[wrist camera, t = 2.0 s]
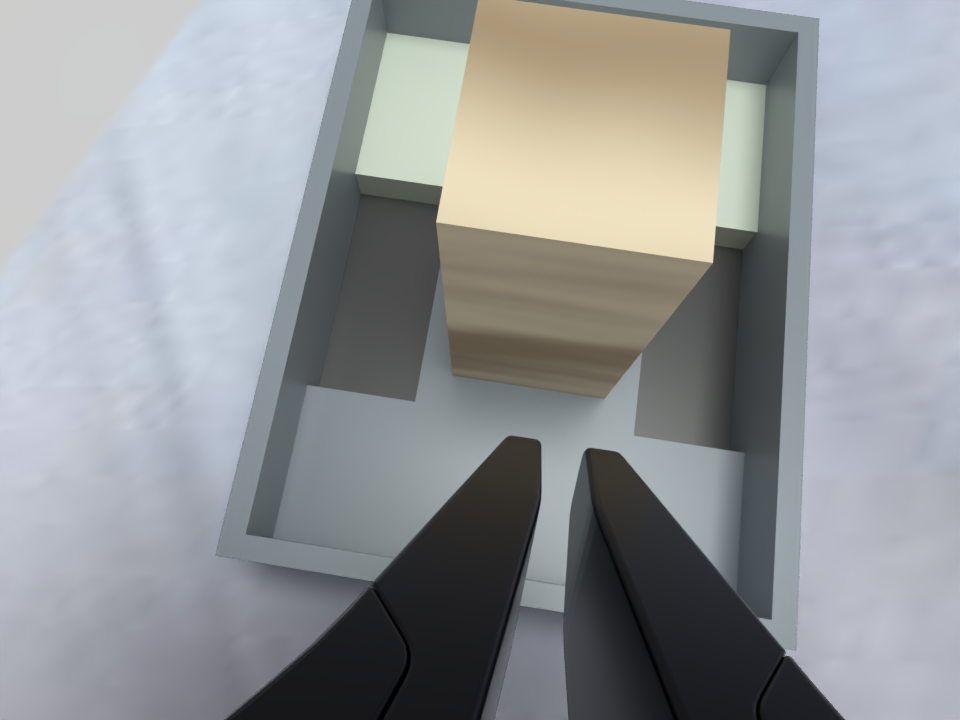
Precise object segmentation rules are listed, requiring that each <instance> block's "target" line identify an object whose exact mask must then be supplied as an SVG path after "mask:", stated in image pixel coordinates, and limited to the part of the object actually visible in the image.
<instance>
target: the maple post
mask: <svg viewBox="0 0 960 720" xmlns="http://www.w3.org/2000/svg"><path fill="white" fill-rule="evenodd" d="M729 43H730V30H728V29H721V28H714V27H706V26H699V25H692V24H684V23H677V22H670V21H662V20H655V19H648V18H640V17H633V16H626V15H618V14H611V13H604V12H596V11H589V10H582V9H574V8H567V7H560V6H552V5H545V4H538V3H530V2H523V1H516V0H478V3H477V9H476V14H475V19H474V24H473V30H472V35H471V40H470V46H469V51H468V56H467V61H466V67H465V72H464V77H463V83H462V88H461V93H460V98H459V104H458V109H457V114H456V120H455V125H454V130H453V135H452V141H451V146H450V151H449V157H448V162H447V167H446V172H445V178H444V183H443V188H442V194H441V199H440V204H439V209H438V215H437V220H436V226H437V236H438V245H439V254H440V263H441V273H442V282H443V291H444V300H445V309H446V319H447V328H448V337H449V346H450V356H451V365H452V374H453V376H459V377H466V378H472V379H479V380H485V381H492V382H498V383H505V384H511V385H518V386H524V387H531V388H537V389H544V390H550V391H557V392H563V393H570V394H576V395H583V396H589V397H596V398H602V399H605V398H606V397H607V395H608V394H609V393H610V391H611V390H612V389H613V388H614V386H615V385H616V384H617V383H618V381H619V380H620V379H621V378H622V376H623V375H624V374H625V373H626V371H627V370H628V369H629V368H630V366H631V365H632V364H633V363H634V361H635V360H636V359H637V358H638V356H639V355H640V354H641V353H642V351H643V350H644V349H645V348H646V346H647V345H648V344H649V343H650V341H651V340H652V339H653V338H654V336H655V335H656V334H657V333H658V331H659V330H660V329H661V328H662V326H663V325H664V324H665V322H666V321H667V320H668V319H669V317H670V316H671V315H672V314H673V312H674V311H675V310H676V309H677V307H678V306H679V305H680V304H681V302H682V301H683V300H684V299H685V297H686V296H687V295H688V294H689V292H690V291H691V290H692V289H693V287H694V286H695V285H696V284H697V282H698V281H699V280H700V279H701V277H702V276H703V275H704V274H705V272H706V271H707V270H708V269H709V267H710V266H711V265H712V264H713V255H714V242H715V229H716V216H717V203H718V189H719V176H720V163H721V149H722V136H723V123H724V110H725V96H726V83H727V70H728V57H729Z"/></svg>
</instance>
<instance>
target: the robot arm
mask: <svg viewBox="0 0 960 720" xmlns="http://www.w3.org/2000/svg"><path fill="white" fill-rule="evenodd" d="M541 496H542V447H541V443H540V441H539V440H537V439H532V438H526V437H519V436H513V435H510V436H507V437H506V438H505V439H504V440H503V441H502V442H501V443H500V444H499V445H498V446H497V448H496V449H495V450H494V451H493V452H492V453H491V454H490V455H489V456H488V457H487V458H486V459H485V461H484V462H483V463H482V464H481V465H480V466H479V467H478V468H477V469H476V470H475V471H474V472H473V474H472V475H471V476H470V477H469V478H468V479H467V480H466V481H465V482H464V483H463V484H462V485H461V487H460V488H459V489H458V490H457V491H456V492H455V493H454V494H453V495H452V496H451V497H450V498H449V500H448V501H447V502H446V503H445V504H444V505H443V506H442V507H441V508H440V509H439V510H438V511H437V513H436V514H435V515H434V516H433V517H432V518H431V519H430V520H429V521H428V522H427V523H426V524H425V526H424V527H423V528H422V529H421V530H420V531H419V532H418V533H417V534H416V535H415V536H414V537H413V539H412V540H411V541H410V542H409V543H408V544H407V545H406V546H405V547H404V548H403V549H402V551H401V552H400V553H399V554H398V555H397V556H396V557H395V558H394V559H393V560H392V561H391V562H390V564H389V565H388V566H387V567H386V568H385V569H384V570H383V571H382V572H381V573H380V574H379V575H378V577H377V578H376V579H375V580H374V581H373V582H372V583H371V585H370V588H366V589H365V590H364V591H363V592H362V593H361V594H360V596H359V597H358V598H357V599H356V600H355V601H354V602H353V603H352V604H351V605H350V606H349V608H348V609H347V610H346V611H345V612H344V613H343V614H342V615H341V616H340V617H339V618H338V619H337V620H336V621H335V622H334V623H333V624H332V625H331V626H330V627H329V628H328V629H327V630H326V631H325V632H324V633H323V634H322V635H321V636H320V637H319V638H318V639H317V640H316V641H315V642H314V643H313V644H312V645H311V646H310V647H308V648H307V649H306V650H305V651H304V652H303V653H302V654H300V655H299V656H298V657H297V658H296V659H295V660H294V661H292V662H291V663H290V664H289V665H288V666H287V667H286V668H285V669H283V670H282V671H281V672H280V673H279V674H278V675H277V676H275V677H274V678H273V679H272V680H271V681H270V682H268V683H267V684H266V685H265V686H264V687H262V688H261V689H260V690H259V691H258V692H256V693H255V694H254V695H253V696H252V697H250V698H249V699H248V700H247V701H246V702H244V703H243V704H242V705H241V706H240V707H238V708H237V709H236V710H235V711H234V712H232V713H231V714H230V715H229V716H228V717H226V718H225V719H224V720H494V718H495V714H496V710H497V706H498V701H499V697H500V693H501V689H502V685H503V680H504V676H505V672H506V668H507V664H508V659H509V655H510V651H511V647H512V643H513V638H514V633H515V628H516V623H517V618H518V613H519V608H520V604H521V599H522V594H523V589H524V584H525V579H526V574H527V569H528V564H529V559H530V554H531V549H532V544H533V539H534V534H535V529H536V525H537V520H538V515H539V510H540V505H541ZM563 638H564V659H565V674H566V689H567V704H568V719H569V720H845V719H844V718H843V717H842V716H841V715H840V713H839V712H838V711H837V710H836V709H835V708H834V707H833V705H832V704H831V703H830V702H829V701H828V700H827V699H826V697H825V696H824V695H823V694H822V693H821V692H820V691H819V690H818V688H817V687H816V686H815V685H814V684H813V683H812V681H811V680H810V679H809V678H808V677H807V675H806V674H805V673H804V672H803V671H802V669H801V668H800V667H799V666H798V665H797V663H796V662H795V661H794V660H793V659H792V658H791V657H790V656H785V654H786V652H785V650H784V648H783V647H782V646H781V645H780V644H779V642H778V641H777V640H776V639H775V638H774V636H773V635H772V634H771V633H770V632H769V630H768V629H767V628H766V627H765V626H764V624H763V623H762V622H761V621H760V620H759V618H758V617H757V616H756V615H755V614H754V612H753V611H752V610H751V609H750V608H749V606H748V605H747V604H746V603H745V602H744V601H743V599H742V598H741V597H740V596H739V595H738V593H737V592H736V591H735V590H734V589H733V587H732V586H731V585H730V584H729V583H728V581H727V580H726V579H725V578H724V577H723V575H722V574H721V573H720V572H719V571H718V569H717V568H716V567H715V566H714V565H713V563H712V562H711V561H710V560H709V559H708V558H707V556H706V555H705V554H704V553H703V552H702V550H701V549H700V548H699V547H698V546H697V544H696V543H695V542H694V541H693V540H692V538H691V537H690V536H689V535H688V534H687V532H686V531H685V530H684V529H683V528H682V526H681V525H680V524H679V523H678V522H677V520H676V519H675V518H674V517H673V516H672V514H671V513H670V512H669V511H668V510H667V509H666V507H665V506H664V505H663V504H662V503H661V501H660V500H659V499H658V498H657V497H656V495H655V494H654V493H653V492H652V491H651V489H650V488H649V487H648V486H647V485H646V483H645V482H644V481H643V480H642V479H641V477H640V476H639V475H638V474H637V473H636V471H635V470H634V469H633V468H632V467H631V465H630V464H629V463H628V462H627V461H626V460H625V458H624V457H623V456H622V455H621V454H620V453H618V452H616V451H610V450H603V449H596V448H587V449H586V450H585V451H584V453H583V456H582V459H581V464H580V468H579V472H578V477H577V481H576V485H575V490H574V494H573V499H572V503H571V509H570V518H569V534H568V550H567V567H566V583H565V600H564V622H563Z"/></svg>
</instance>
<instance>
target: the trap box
mask: <svg viewBox="0 0 960 720" xmlns="http://www.w3.org/2000/svg"><path fill="white" fill-rule="evenodd" d="M516 1H523V2H530V3H538V4H545V5H552V6H560V7H567V8H574V9H582V10H589V11H596V12H604V13H611V14H618V15H626V16H633V17H640V18H648V19H655V20H662V21H670V22H677V23H684V24H692V25H699V26H706V27H714V28H721V29H728V30H730V43H729V57H728V70H727V83H726V96H725V110H724V123H723V136H722V149H721V163H720V176H719V189H718V203H717V216H716V229H715V242H714V255H713V264H712V265H711V266H710V267H709V269H708V270H707V271H706V272H705V274H704V275H703V276H702V277H701V279H700V280H699V281H698V282H697V284H696V285H695V286H694V287H693V289H692V290H691V291H690V292H689V294H688V295H687V296H686V297H685V299H684V300H683V301H682V302H681V304H680V305H679V306H678V307H677V309H676V310H675V311H674V312H673V314H672V315H671V316H670V317H669V319H668V320H667V321H666V322H665V324H664V325H663V326H662V328H661V329H660V330H659V331H658V333H657V334H656V335H655V336H654V338H653V339H652V340H651V341H650V343H649V344H648V345H647V346H646V348H645V349H644V350H643V351H642V353H641V354H640V355H639V356H638V358H637V359H636V360H635V361H634V363H633V364H632V365H631V366H630V368H629V369H628V370H627V371H626V373H625V374H624V375H623V376H622V378H621V379H620V380H619V381H618V383H617V384H616V385H615V386H614V388H613V389H612V390H611V391H610V393H609V394H608V395H607V397H606V398H605V399H602V398H596V397H589V396H583V395H576V394H570V393H563V392H557V391H550V390H544V389H537V388H531V387H524V386H518V385H511V384H505V383H498V382H492V381H485V380H479V379H472V378H466V377H459V376H453V374H452V365H451V356H450V346H449V337H448V328H447V319H446V309H445V300H444V291H443V282H442V273H441V263H440V254H439V245H438V236H437V226H436V220H437V215H438V209H439V204H440V199H441V194H442V188H443V183H444V178H445V172H446V167H447V162H448V157H449V151H450V146H451V141H452V135H453V130H454V125H455V120H456V114H457V109H458V104H459V98H460V93H461V88H462V83H463V77H464V72H465V67H466V61H467V56H468V51H469V46H470V40H471V35H472V30H473V24H474V19H475V14H476V9H477V3H478V0H352V1H351V5H350V9H349V13H348V17H347V22H346V26H345V30H344V34H343V38H342V42H341V46H340V50H339V54H338V58H337V62H336V66H335V70H334V74H333V79H332V83H331V87H330V91H329V95H328V99H327V103H326V107H325V111H324V115H323V119H322V123H321V127H320V131H319V136H318V140H317V144H316V148H315V152H314V156H313V160H312V164H311V168H310V172H309V176H308V180H307V184H306V188H305V193H304V197H303V201H302V205H301V209H300V213H299V217H298V221H297V225H296V229H295V233H294V237H293V241H292V245H291V250H290V254H289V258H288V262H287V266H286V270H285V274H284V278H283V282H282V286H281V290H280V294H279V298H278V302H277V307H276V311H275V315H274V319H273V323H272V327H271V331H270V335H269V339H268V343H267V347H266V351H265V355H264V359H263V364H262V368H261V372H260V376H259V380H258V384H257V388H256V392H255V396H254V400H253V404H252V408H251V412H250V417H249V421H248V425H247V429H246V433H245V437H244V441H243V445H242V449H241V453H240V457H239V461H238V465H237V469H236V474H235V478H234V482H233V486H232V490H231V494H230V498H229V502H228V506H227V510H226V514H225V518H224V522H223V526H222V531H221V535H220V539H219V543H218V547H217V551H216V555H215V556H221V557H227V558H233V559H239V560H245V561H251V562H257V563H264V564H270V565H276V566H282V567H288V568H294V569H300V570H306V571H312V572H319V573H325V574H331V575H337V576H343V577H349V578H355V579H361V580H367V581H374V580H375V579H376V578H377V577H378V575H379V574H380V573H381V572H382V571H383V570H384V569H385V568H386V567H387V566H388V565H389V564H390V562H391V561H392V560H393V559H394V558H395V557H396V556H397V555H398V554H399V553H400V552H401V551H402V549H403V548H404V547H405V546H406V545H407V544H408V543H409V542H410V541H411V540H412V539H413V537H414V536H415V535H416V534H417V533H418V532H419V531H420V530H421V529H422V528H423V527H424V526H425V524H426V523H427V522H428V521H429V520H430V519H431V518H432V517H433V516H434V515H435V514H436V513H437V511H438V510H439V509H440V508H441V507H442V506H443V505H444V504H445V503H446V502H447V501H448V500H449V498H450V497H451V496H452V495H453V494H454V493H455V492H456V491H457V490H458V489H459V488H460V487H461V485H462V484H463V483H464V482H465V481H466V480H467V479H468V478H469V477H470V476H471V475H472V474H473V472H474V471H475V470H476V469H477V468H478V467H479V466H480V465H481V464H482V463H483V462H484V461H485V459H486V458H487V457H488V456H489V455H490V454H491V453H492V452H493V451H494V450H495V449H496V448H497V446H498V445H499V444H500V443H501V442H502V441H503V440H504V439H505V438H506V437H507V436H510V435H513V436H519V437H526V438H532V439H537V440H539V441H540V443H541V447H542V496H541V505H540V510H539V515H538V520H537V525H536V529H535V534H534V539H533V544H532V549H531V554H530V559H529V564H528V569H527V574H526V579H525V584H524V589H523V594H522V599H521V604H520V606H526V607H532V608H538V609H544V610H551V611H557V612H563V613H564V600H565V583H566V567H567V550H568V534H569V518H570V509H571V503H572V499H573V494H574V490H575V485H576V481H577V477H578V472H579V468H580V464H581V459H582V456H583V453H584V451H585V450H586V449H587V448H596V449H603V450H610V451H616V452H618V453H620V454H621V455H622V456H623V457H624V458H625V460H626V461H627V462H628V463H629V464H630V465H631V467H632V468H633V469H634V470H635V471H636V473H637V474H638V475H639V476H640V477H641V479H642V480H643V481H644V482H645V483H646V485H647V486H648V487H649V488H650V489H651V491H652V492H653V493H654V494H655V495H656V497H657V498H658V499H659V500H660V501H661V503H662V504H663V505H664V506H665V507H666V509H667V510H668V511H669V512H670V513H671V514H672V516H673V517H674V518H675V519H676V520H677V522H678V523H679V524H680V525H681V526H682V528H683V529H684V530H685V531H686V532H687V534H688V535H689V536H690V537H691V538H692V540H693V541H694V542H695V543H696V544H697V546H698V547H699V548H700V549H701V550H702V552H703V553H704V554H705V555H706V556H707V558H708V559H709V560H710V561H711V562H712V563H713V565H714V566H715V567H716V568H717V569H718V571H719V572H720V573H721V574H722V575H723V577H724V578H725V579H726V580H727V581H728V583H729V584H730V585H731V586H732V587H733V589H734V590H735V591H736V592H737V593H738V595H739V596H740V597H741V598H742V599H743V601H744V602H745V603H746V604H747V605H748V606H749V608H750V609H751V610H752V611H753V612H754V614H755V615H756V616H757V617H758V618H759V620H760V621H761V622H762V623H763V624H764V626H765V627H766V628H767V629H768V630H769V632H770V633H771V634H772V635H773V636H774V638H775V639H776V640H777V641H778V642H779V644H780V645H781V646H782V647H783V648H784V649H789V650H795V651H796V642H797V614H798V587H799V559H800V532H801V505H802V477H803V450H804V423H805V395H806V368H807V341H808V313H809V286H810V258H811V231H812V204H813V176H814V149H815V122H816V94H817V67H818V40H819V18H811V17H804V16H797V15H789V14H782V13H774V12H767V11H760V10H752V9H745V8H737V7H730V6H723V5H715V4H708V3H700V2H693V1H686V0H516Z"/></svg>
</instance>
